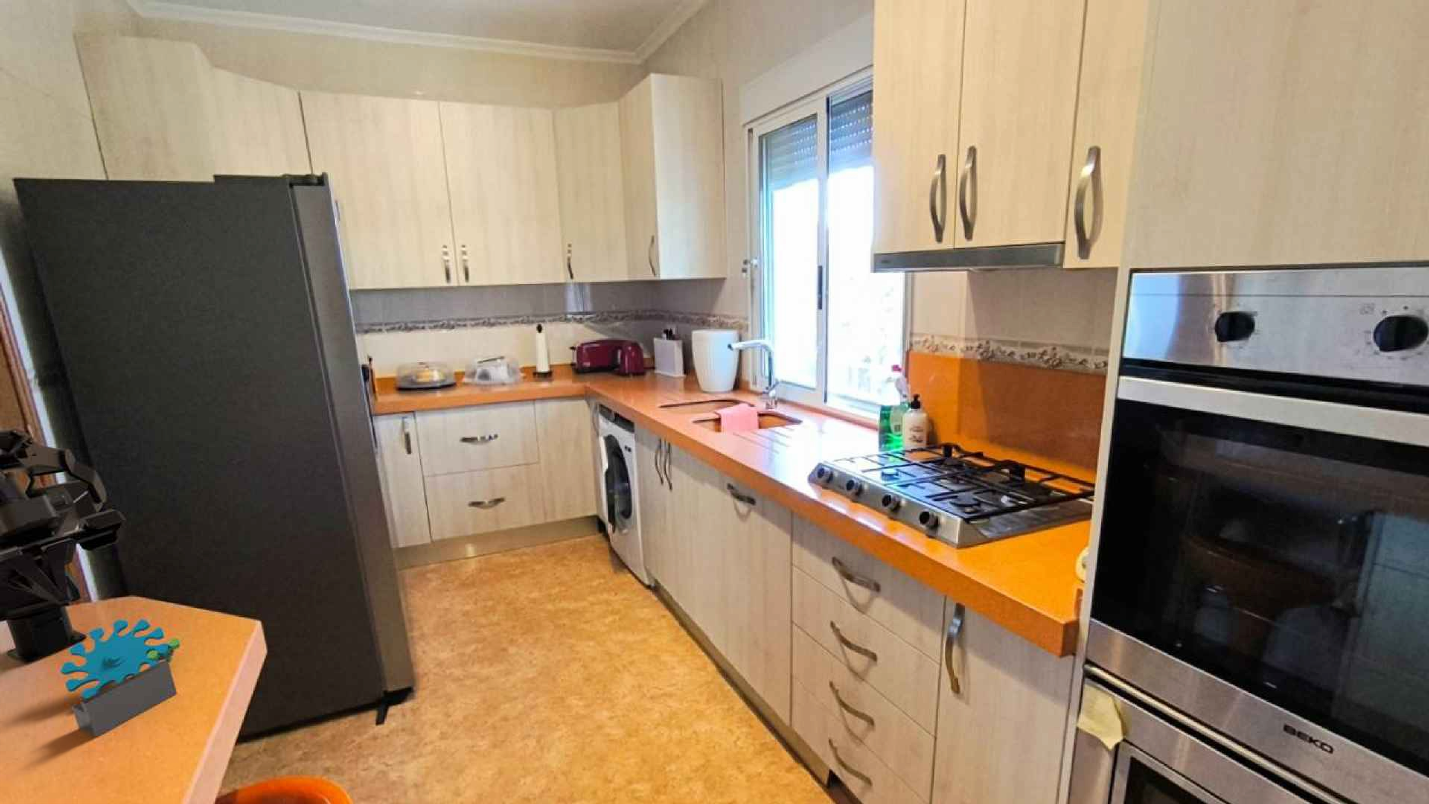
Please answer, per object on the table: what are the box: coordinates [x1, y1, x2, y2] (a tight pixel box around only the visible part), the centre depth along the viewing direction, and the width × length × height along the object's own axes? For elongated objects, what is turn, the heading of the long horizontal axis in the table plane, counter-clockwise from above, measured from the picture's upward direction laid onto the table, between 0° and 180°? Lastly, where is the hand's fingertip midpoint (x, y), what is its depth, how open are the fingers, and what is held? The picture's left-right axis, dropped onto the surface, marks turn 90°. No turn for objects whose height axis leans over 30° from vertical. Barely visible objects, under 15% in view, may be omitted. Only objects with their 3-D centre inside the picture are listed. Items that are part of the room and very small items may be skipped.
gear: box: [59, 618, 181, 700], centre depth 80 cm, size 11×6×10 cm
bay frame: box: [71, 660, 178, 738], centre depth 73 cm, size 4×8×4 cm, turn 156°
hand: (63, 601), depth 79 cm, fingers closed
